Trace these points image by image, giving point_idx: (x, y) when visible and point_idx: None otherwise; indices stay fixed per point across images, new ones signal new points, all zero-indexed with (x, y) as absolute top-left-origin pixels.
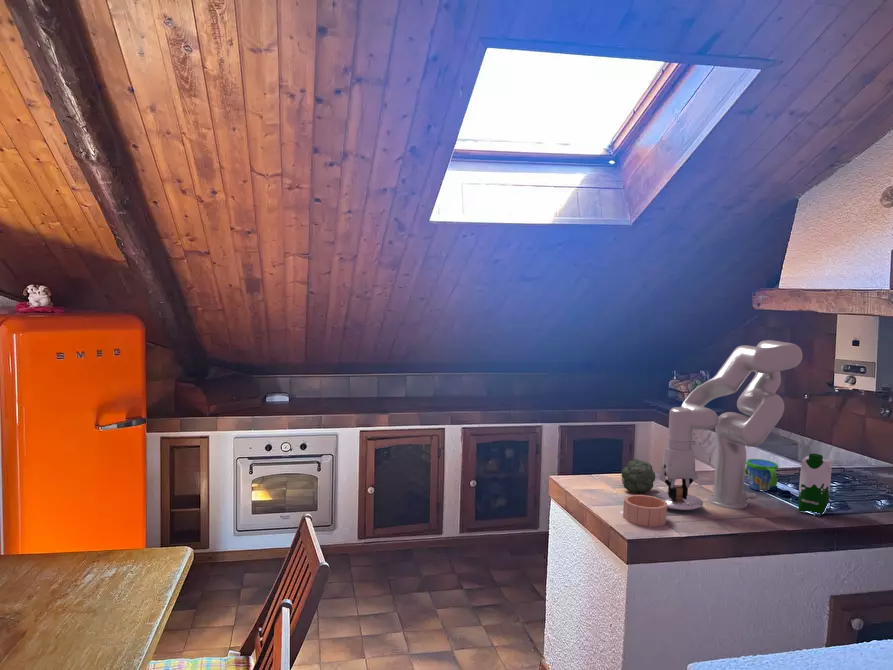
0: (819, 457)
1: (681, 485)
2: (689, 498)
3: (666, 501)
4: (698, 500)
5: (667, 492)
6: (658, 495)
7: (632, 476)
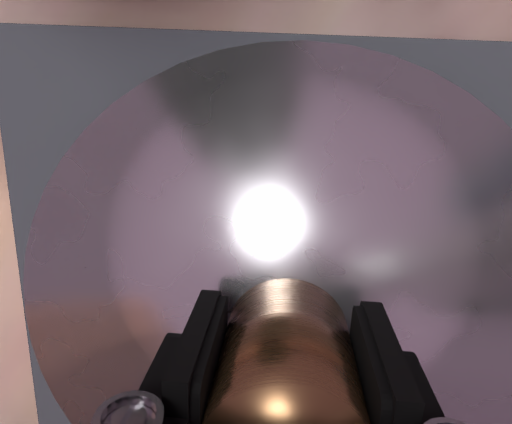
0: None
1: (394, 412)
2: (452, 325)
3: (137, 353)
4: (507, 401)
5: (312, 59)
6: (132, 156)
7: None
